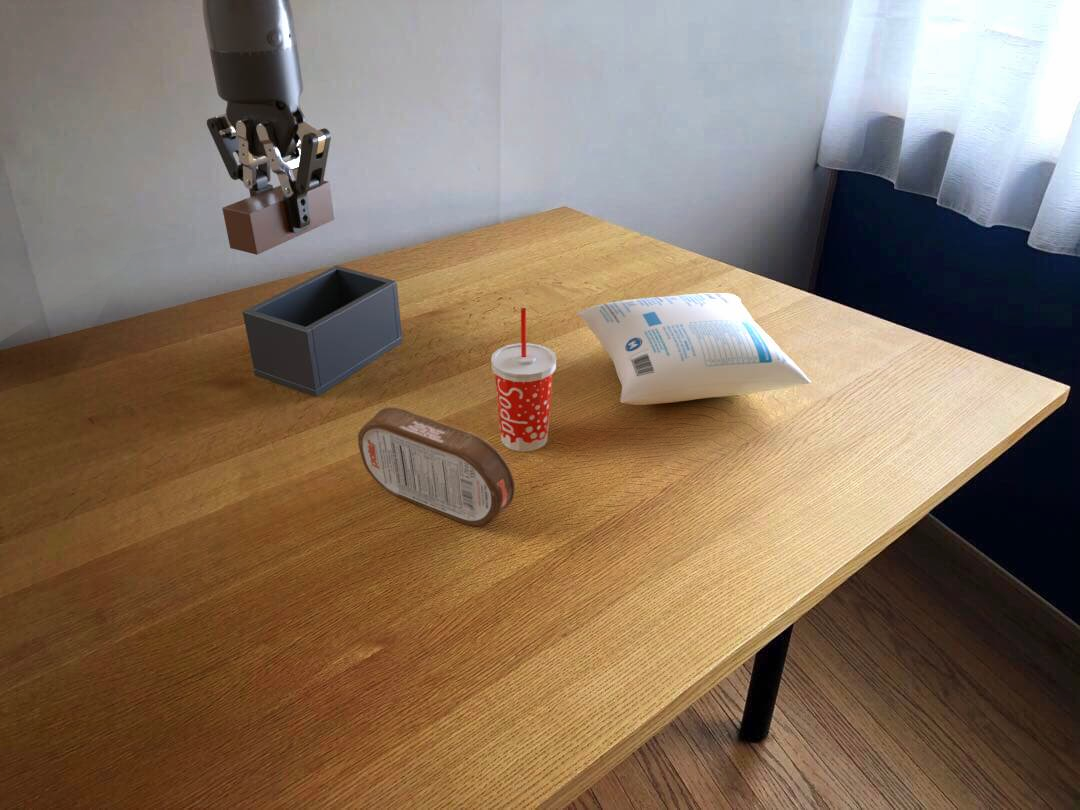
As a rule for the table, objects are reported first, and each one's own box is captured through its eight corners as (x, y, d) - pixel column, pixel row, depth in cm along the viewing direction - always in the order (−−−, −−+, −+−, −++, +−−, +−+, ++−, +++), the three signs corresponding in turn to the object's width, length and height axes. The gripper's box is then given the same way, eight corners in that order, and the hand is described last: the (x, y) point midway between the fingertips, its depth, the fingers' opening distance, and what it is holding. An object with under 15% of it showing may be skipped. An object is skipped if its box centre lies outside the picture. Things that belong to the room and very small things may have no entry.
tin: (517, 523, 74) (516, 442, 69) (497, 544, 71) (495, 461, 67) (380, 469, 80) (371, 392, 76) (357, 487, 78) (347, 408, 73)
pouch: (621, 364, 81) (818, 338, 84) (575, 287, 98) (741, 268, 101) (620, 434, 85) (808, 408, 88) (576, 350, 102) (736, 330, 105)
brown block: (308, 214, 90) (303, 176, 88) (334, 219, 89) (329, 181, 87) (229, 248, 82) (221, 207, 80) (257, 255, 81) (249, 213, 79)
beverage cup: (481, 433, 85) (476, 304, 78) (533, 415, 88) (533, 289, 81) (514, 463, 81) (512, 330, 74) (567, 443, 84) (571, 313, 76)
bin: (316, 397, 91) (306, 331, 87) (254, 375, 95) (241, 311, 91) (402, 342, 102) (397, 281, 98) (343, 324, 106) (336, 265, 101)
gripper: (342, 41, 76) (363, 227, 85) (226, 29, 82) (258, 204, 91) (282, 54, 70) (312, 252, 80) (163, 40, 76) (203, 226, 85)
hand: (283, 226), depth 85 cm, fingers closed on brown block, 3 cm apart
